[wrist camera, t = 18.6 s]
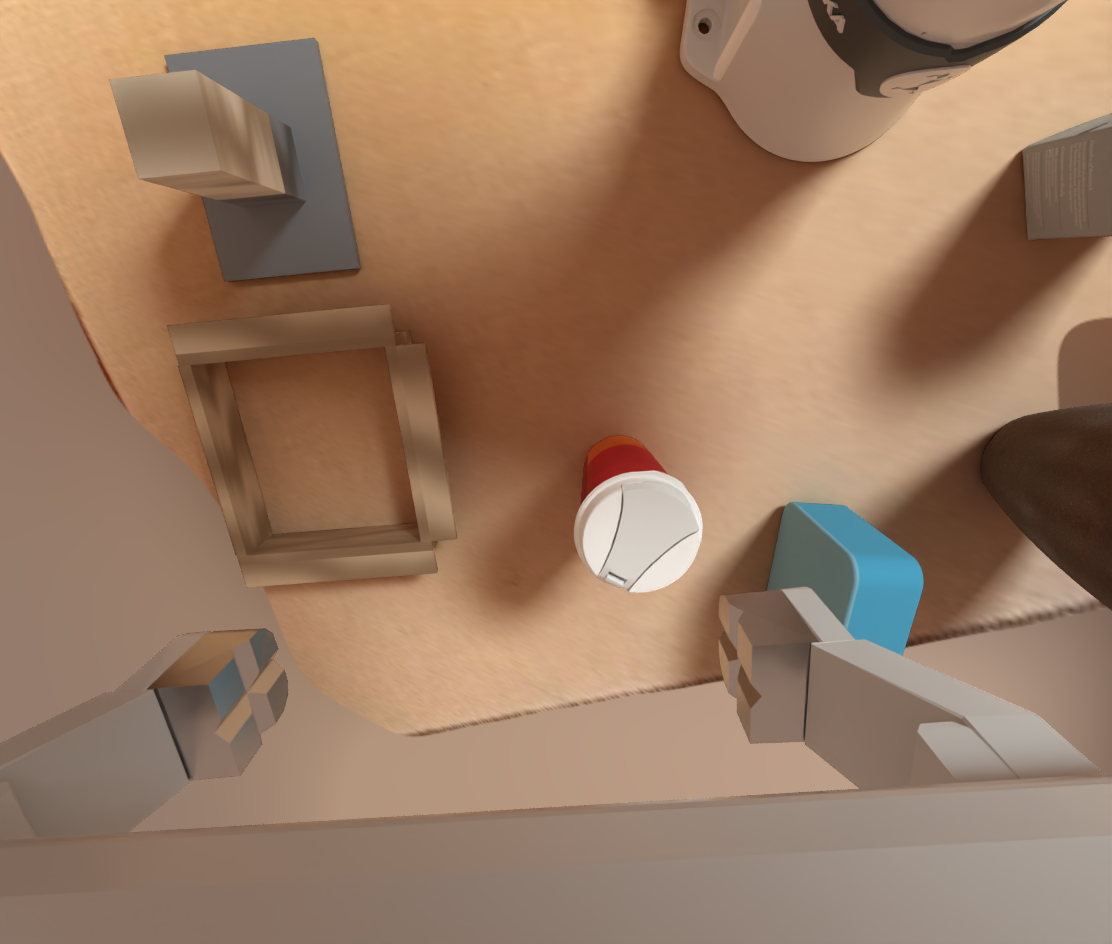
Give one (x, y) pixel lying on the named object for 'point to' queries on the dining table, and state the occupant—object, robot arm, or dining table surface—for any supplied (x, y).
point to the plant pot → (1059, 488)
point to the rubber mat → (301, 103)
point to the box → (206, 140)
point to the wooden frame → (234, 471)
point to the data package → (849, 571)
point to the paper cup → (634, 518)
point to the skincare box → (1070, 182)
